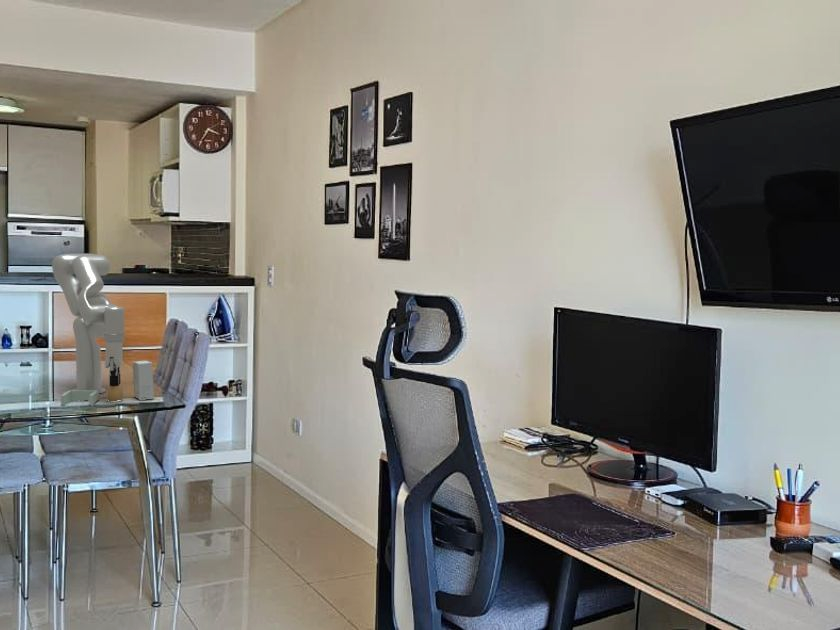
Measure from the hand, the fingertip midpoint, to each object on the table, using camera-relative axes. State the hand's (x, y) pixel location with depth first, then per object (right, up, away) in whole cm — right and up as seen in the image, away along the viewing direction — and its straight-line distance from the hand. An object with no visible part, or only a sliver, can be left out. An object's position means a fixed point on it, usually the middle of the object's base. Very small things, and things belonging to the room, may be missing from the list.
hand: (115, 384), depth 349 cm
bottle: (0, -6, +1) cm, 7 cm away
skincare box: (+9, -6, +6) cm, 13 cm away
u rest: (-11, -7, -6) cm, 14 cm away
